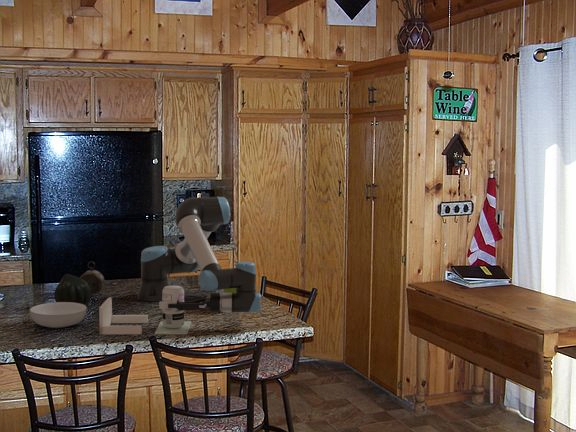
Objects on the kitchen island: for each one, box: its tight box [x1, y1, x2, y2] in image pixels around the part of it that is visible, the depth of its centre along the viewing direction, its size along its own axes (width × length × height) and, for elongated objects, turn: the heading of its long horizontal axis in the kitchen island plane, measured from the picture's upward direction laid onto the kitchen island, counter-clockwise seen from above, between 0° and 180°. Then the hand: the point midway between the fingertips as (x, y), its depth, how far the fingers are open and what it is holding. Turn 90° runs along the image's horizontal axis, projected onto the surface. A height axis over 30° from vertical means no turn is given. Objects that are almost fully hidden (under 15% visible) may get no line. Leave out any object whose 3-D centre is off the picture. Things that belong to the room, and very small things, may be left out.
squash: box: [53, 273, 92, 306], centre depth 304 cm, size 14×15×15 cm
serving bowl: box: [29, 301, 88, 329], centre depth 274 cm, size 21×21×7 cm
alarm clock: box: [79, 261, 106, 297], centre depth 324 cm, size 11×5×16 cm, turn 84°
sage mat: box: [154, 320, 192, 335], centre depth 272 cm, size 12×18×1 cm, turn 3°
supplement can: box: [161, 284, 185, 328], centre depth 271 cm, size 8×8×15 cm
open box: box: [98, 297, 149, 335], centre depth 270 cm, size 15×17×10 cm
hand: (160, 302), depth 270 cm, fingers closed on supplement can, 8 cm apart
